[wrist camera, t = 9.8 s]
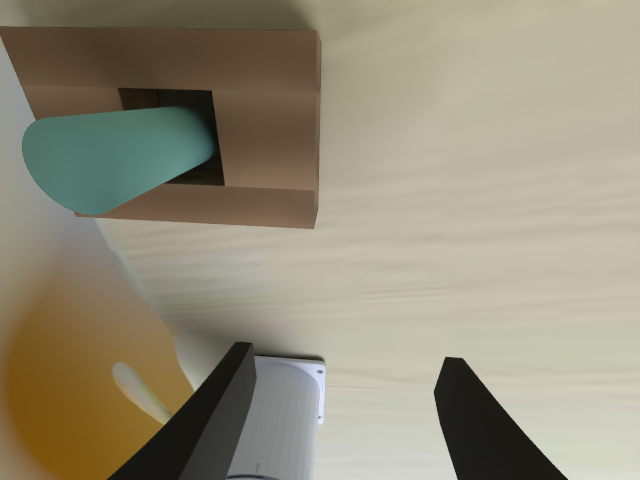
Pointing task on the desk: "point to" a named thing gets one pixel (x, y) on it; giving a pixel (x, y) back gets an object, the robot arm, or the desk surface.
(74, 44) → the hole block
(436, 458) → the desk surface
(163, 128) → the peg
